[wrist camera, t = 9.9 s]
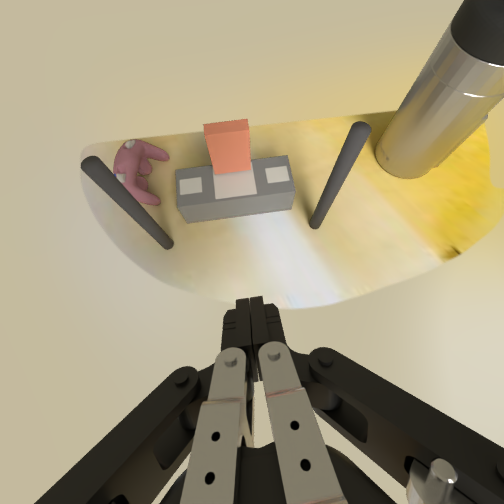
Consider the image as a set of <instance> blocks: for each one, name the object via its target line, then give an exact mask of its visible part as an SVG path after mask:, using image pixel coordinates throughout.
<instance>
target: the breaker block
mask: <svg viewBox="0 0 504 504" xmlns="http://www.w3.org/2000/svg"><path fill="white" fill-rule="evenodd" d="M176 191H177V208H178V209H179V211H180V212H181V214H182V216H183V217H184V219H185V221H186V222H187V223H195V222H202V221H209V220H217V219H224V218H232V217H239V216H246V215H254V214H261V213H268V212H276V211H283V210H290V209H291V208H292V204H293V200H294V196H295V192H296V190H295V186H294V182H293V177H292V173H291V168H290V164H289V159H288V155H285V156H278V157H270V158H262V159H255V160H251V170H246V171H238V172H231V173H223V174H215V173H214V169H213V165H209V166H202V167H194V168H186V169H179V170H176Z"/></svg>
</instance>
